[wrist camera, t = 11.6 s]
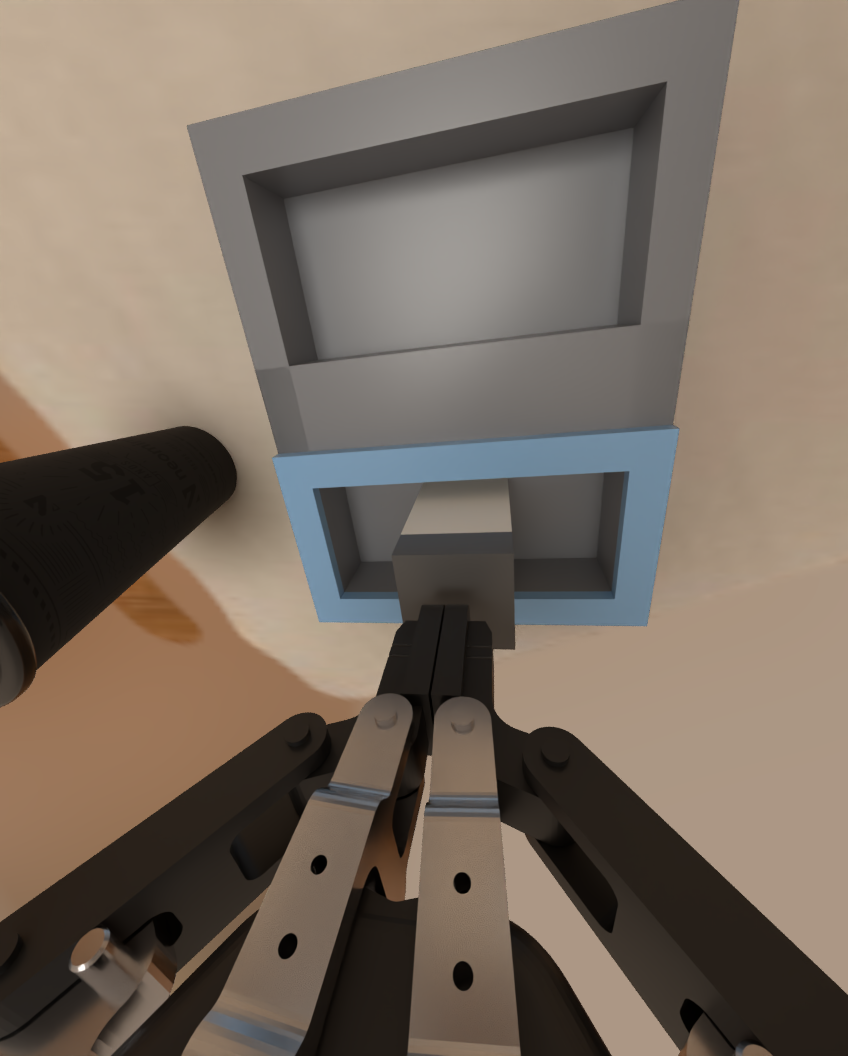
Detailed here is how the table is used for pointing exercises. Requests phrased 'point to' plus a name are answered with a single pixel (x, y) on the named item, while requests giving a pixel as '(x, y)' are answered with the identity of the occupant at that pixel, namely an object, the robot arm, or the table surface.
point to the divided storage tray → (480, 298)
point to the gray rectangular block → (460, 554)
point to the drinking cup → (93, 533)
